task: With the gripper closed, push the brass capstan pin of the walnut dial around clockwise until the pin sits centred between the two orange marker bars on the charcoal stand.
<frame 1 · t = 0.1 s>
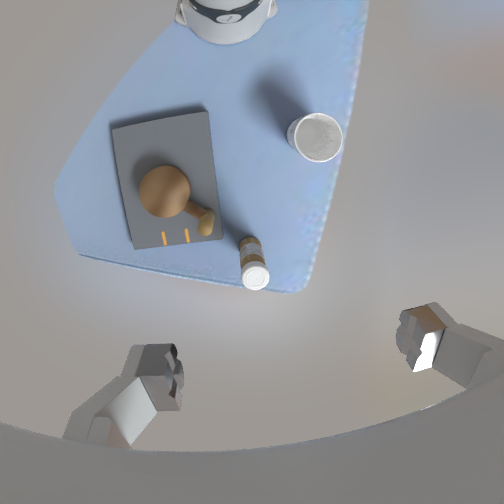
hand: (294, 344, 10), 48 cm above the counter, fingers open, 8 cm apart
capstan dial: (176, 202, 49), point 6 cm above the counter, hinge at 50.0°
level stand: (168, 181, 54), on the counter
white cup: (303, 135, 52), on the counter
sprinkles bottle: (250, 246, 60), on the counter
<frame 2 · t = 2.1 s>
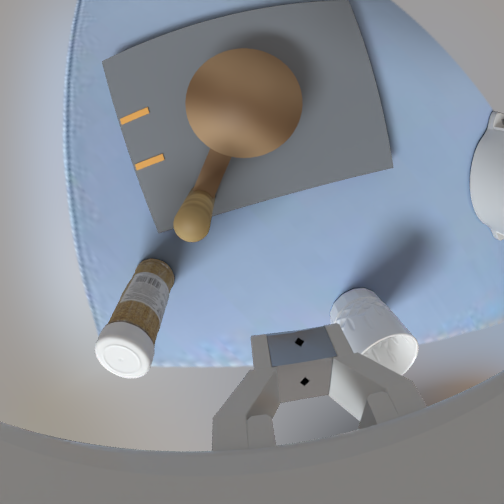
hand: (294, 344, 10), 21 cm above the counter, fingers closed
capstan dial: (229, 134, 21), point 6 cm above the counter, hinge at 50.0°
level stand: (252, 103, 25), on the counter
white cup: (353, 309, 36), on the counter
sprinkles bottle: (155, 274, 32), on the counter
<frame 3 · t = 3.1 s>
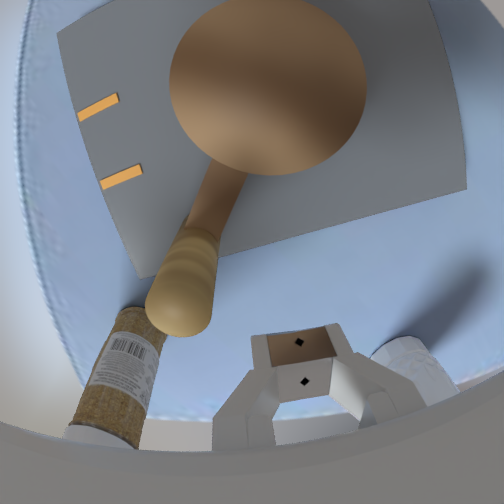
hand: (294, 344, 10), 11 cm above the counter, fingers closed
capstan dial: (245, 134, 12), point 6 cm above the counter, hinge at 50.0°
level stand: (277, 87, 16), on the counter
white cup: (393, 358, 27), on the counter
sprinkles bottle: (142, 325, 23), on the counter
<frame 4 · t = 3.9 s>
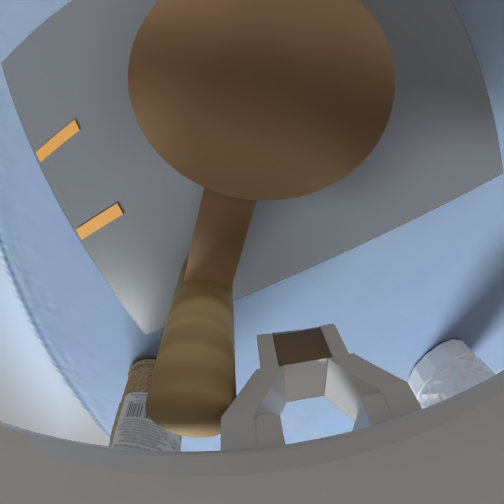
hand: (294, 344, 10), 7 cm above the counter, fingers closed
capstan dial: (245, 150, 8), point 6 cm above the counter, hinge at 50.0°, touching gripper
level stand: (273, 79, 13), on the counter
white cup: (436, 364, 22), on the counter
sprinkles bottle: (159, 375, 20), on the counter
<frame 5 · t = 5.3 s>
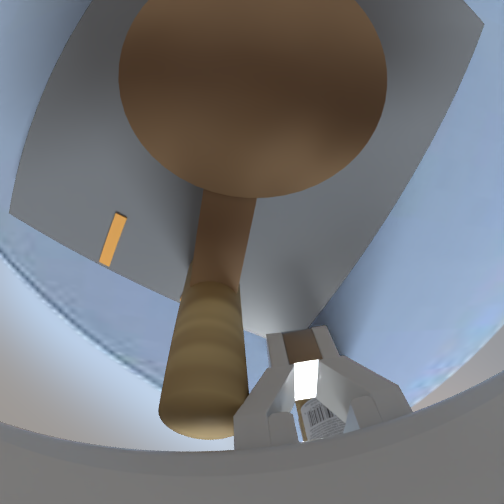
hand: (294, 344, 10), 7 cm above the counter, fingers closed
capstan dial: (241, 148, 8), point 6 cm above the counter, hinge at 18.2°, touching gripper
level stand: (257, 68, 12), on the counter
sprinkles bottle: (318, 374, 21), on the counter
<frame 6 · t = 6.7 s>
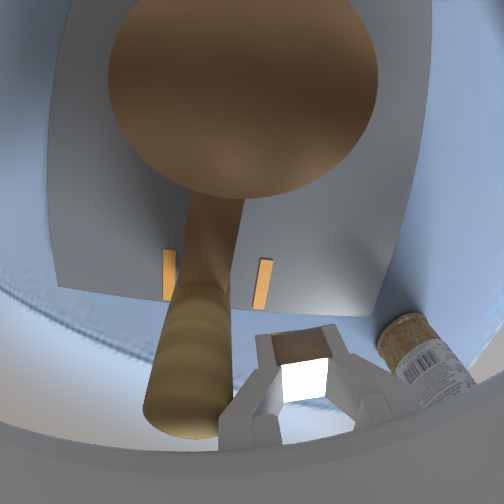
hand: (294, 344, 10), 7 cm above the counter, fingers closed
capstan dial: (226, 149, 8), point 6 cm above the counter, hinge at -3.5°, touching gripper
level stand: (243, 66, 12), on the counter
sprinkles bottle: (400, 332, 20), on the counter
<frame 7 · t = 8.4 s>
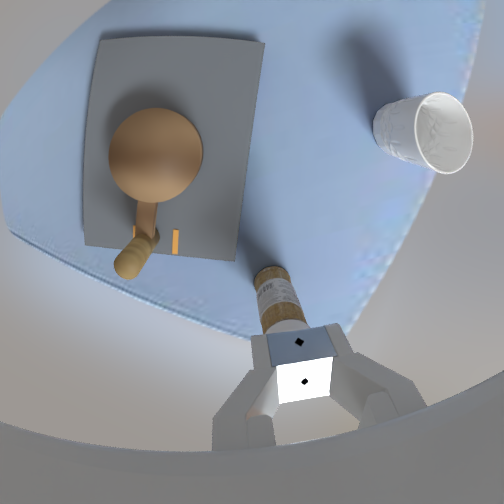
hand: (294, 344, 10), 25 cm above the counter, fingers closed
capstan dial: (145, 187, 25), point 6 cm above the counter, hinge at -3.9°
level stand: (165, 143, 30), on the counter
white cup: (395, 130, 31), on the counter
sprinkles bottle: (272, 280, 37), on the counter
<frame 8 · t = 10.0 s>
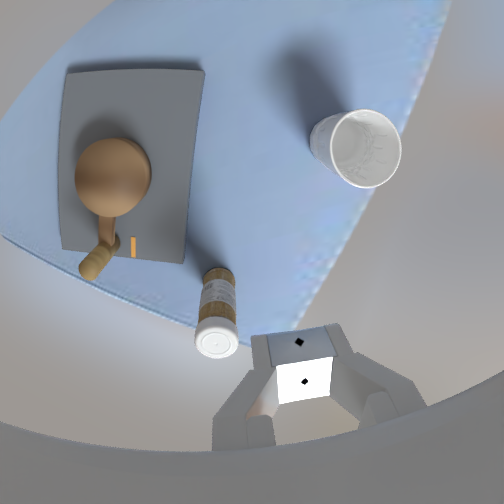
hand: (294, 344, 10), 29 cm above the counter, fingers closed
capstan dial: (102, 205, 30), point 6 cm above the counter, hinge at -3.9°
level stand: (123, 163, 34), on the counter
white cup: (333, 142, 35), on the counter
sprinkles bottle: (219, 280, 42), on the counter
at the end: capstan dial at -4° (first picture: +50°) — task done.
